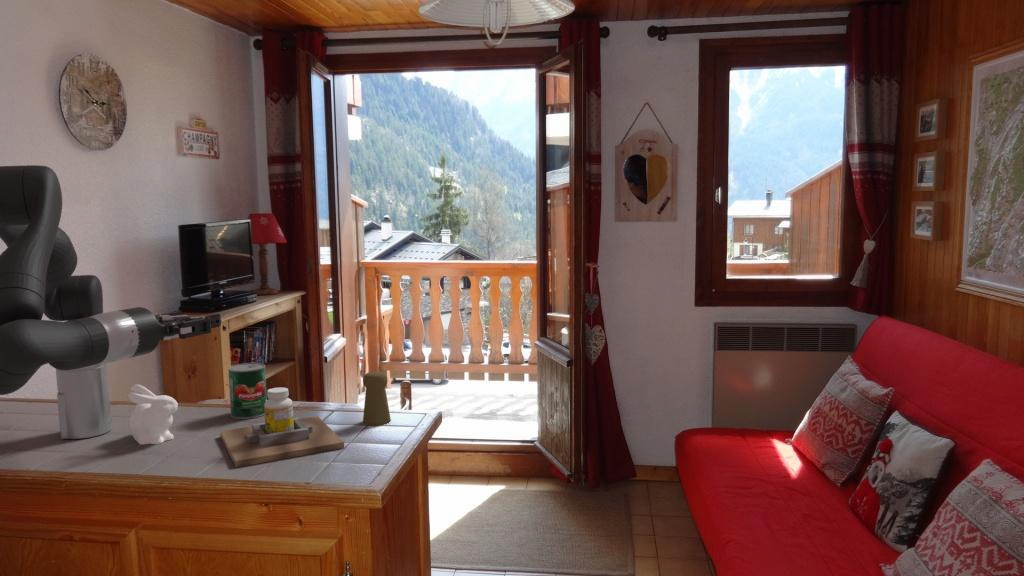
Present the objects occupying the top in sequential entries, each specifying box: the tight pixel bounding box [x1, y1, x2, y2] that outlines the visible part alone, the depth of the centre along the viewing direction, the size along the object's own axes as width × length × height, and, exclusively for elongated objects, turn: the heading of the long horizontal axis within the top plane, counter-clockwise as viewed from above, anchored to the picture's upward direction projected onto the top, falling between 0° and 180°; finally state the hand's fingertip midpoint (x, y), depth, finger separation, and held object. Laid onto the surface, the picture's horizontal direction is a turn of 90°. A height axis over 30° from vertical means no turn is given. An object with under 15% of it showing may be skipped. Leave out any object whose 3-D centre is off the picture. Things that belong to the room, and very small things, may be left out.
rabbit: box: [127, 384, 179, 445], centre depth 147 cm, size 12×9×12 cm
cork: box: [362, 371, 392, 427], centre depth 158 cm, size 6×6×11 cm
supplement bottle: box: [264, 387, 294, 434], centre depth 145 cm, size 5×5×10 cm
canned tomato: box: [227, 362, 268, 420], centre depth 165 cm, size 8×8×11 cm
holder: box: [219, 415, 345, 468], centre depth 145 cm, size 20×20×3 cm
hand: (199, 318), depth 126 cm, fingers open, 8 cm apart
